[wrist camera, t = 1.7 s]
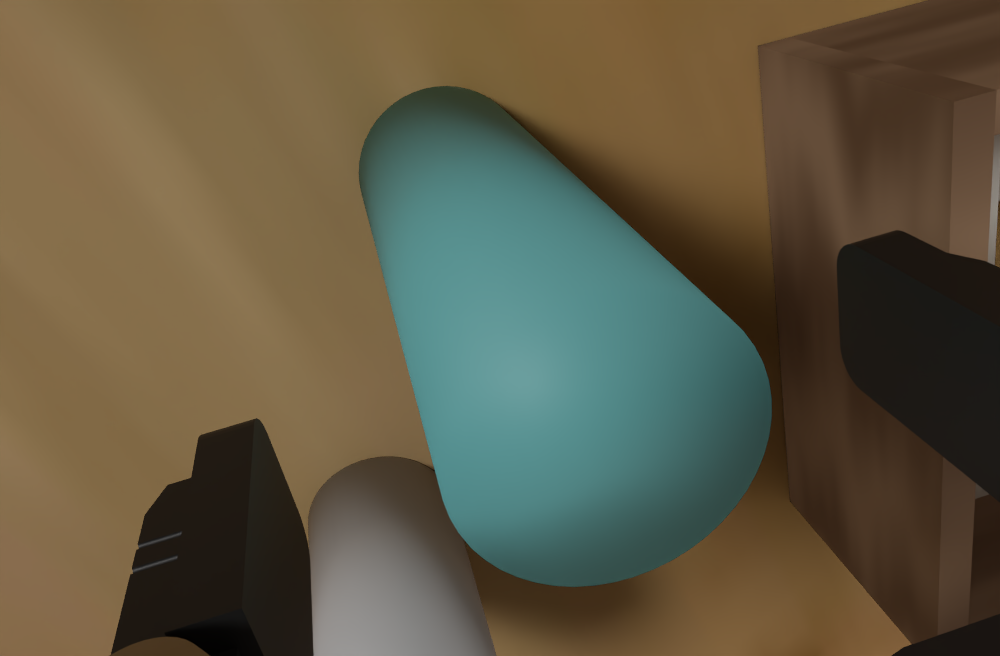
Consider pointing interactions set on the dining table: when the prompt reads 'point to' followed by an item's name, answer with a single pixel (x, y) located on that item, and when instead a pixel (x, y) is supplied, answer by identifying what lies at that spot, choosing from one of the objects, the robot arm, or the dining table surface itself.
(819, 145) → the peg box
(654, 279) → the teal peg
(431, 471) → the grey peg
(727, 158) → the dining table surface
